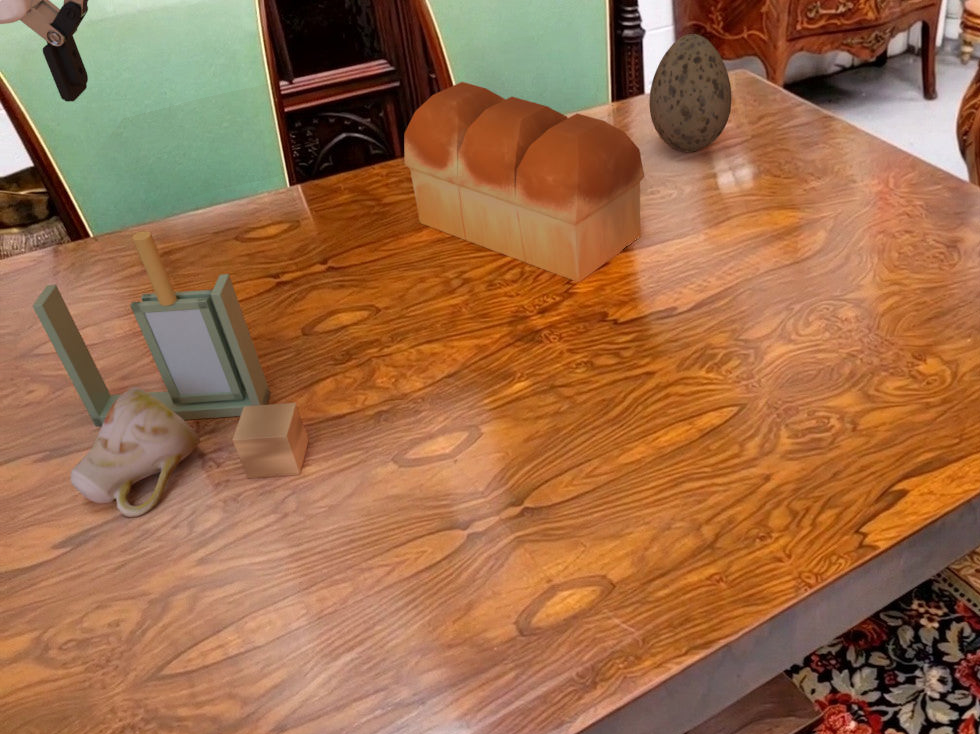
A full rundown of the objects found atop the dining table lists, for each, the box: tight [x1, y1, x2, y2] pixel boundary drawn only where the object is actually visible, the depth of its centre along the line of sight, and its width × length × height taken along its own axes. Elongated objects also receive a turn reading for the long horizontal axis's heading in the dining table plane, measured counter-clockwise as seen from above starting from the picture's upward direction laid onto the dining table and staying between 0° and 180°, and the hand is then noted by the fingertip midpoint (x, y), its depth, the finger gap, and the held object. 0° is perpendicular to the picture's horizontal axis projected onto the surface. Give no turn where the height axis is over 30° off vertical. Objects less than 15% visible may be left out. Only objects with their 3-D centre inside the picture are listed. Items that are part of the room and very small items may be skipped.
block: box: [231, 402, 309, 479], centre depth 80 cm, size 4×4×4 cm
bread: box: [403, 81, 645, 283], centre depth 106 cm, size 25×12×15 cm, turn 55°
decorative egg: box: [648, 33, 733, 153], centre depth 122 cm, size 11×11×15 cm
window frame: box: [32, 273, 271, 427], centre depth 82 cm, size 15×3×13 cm, turn 96°
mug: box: [70, 386, 201, 518], centre depth 78 cm, size 8×10×10 cm
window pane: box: [130, 230, 244, 404], centre depth 80 cm, size 6×1×17 cm, turn 96°
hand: (9, 96), depth 70 cm, fingers open, 9 cm apart
